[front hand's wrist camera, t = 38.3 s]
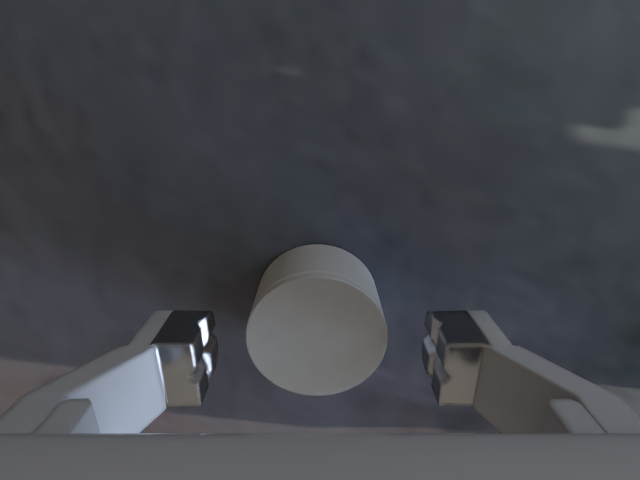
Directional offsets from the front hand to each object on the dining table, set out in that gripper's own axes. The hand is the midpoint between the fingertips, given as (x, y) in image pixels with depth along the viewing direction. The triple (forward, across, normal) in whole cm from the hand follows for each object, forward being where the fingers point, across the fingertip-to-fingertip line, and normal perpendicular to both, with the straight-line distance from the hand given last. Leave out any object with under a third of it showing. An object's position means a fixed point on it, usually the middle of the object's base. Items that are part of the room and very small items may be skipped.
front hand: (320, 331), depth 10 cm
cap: (0, 0, 0) cm, 0 cm away
